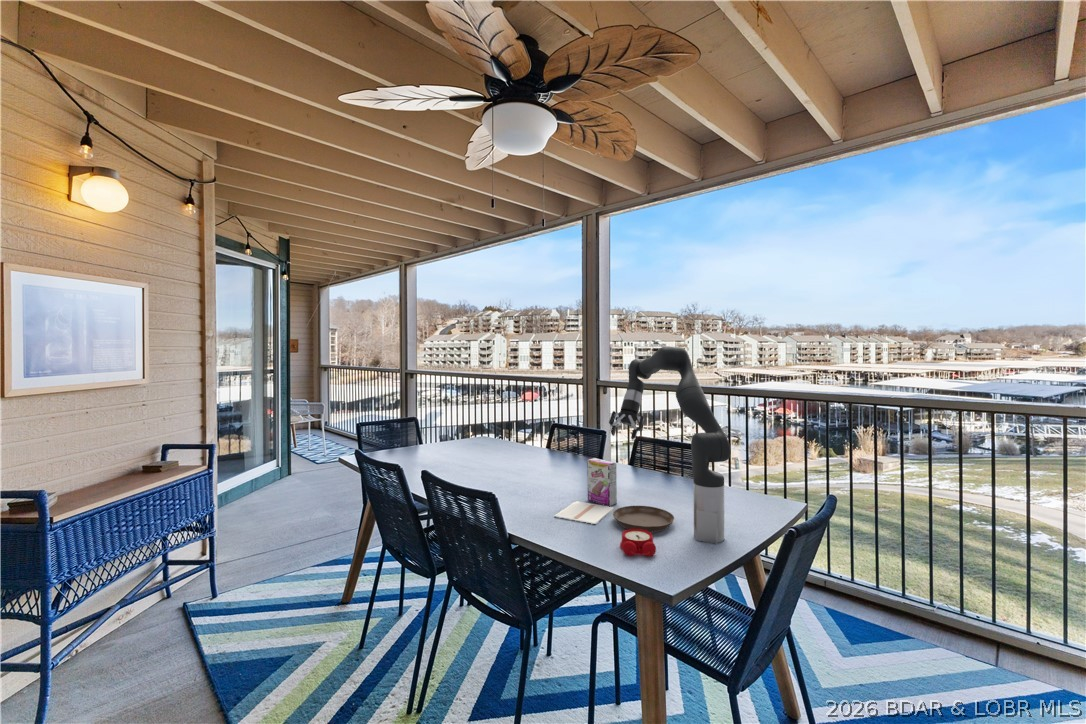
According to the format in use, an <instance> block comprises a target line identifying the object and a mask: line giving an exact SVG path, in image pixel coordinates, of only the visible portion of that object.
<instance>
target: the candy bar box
mask: <svg viewBox="0 0 1086 724" xmlns="http://www.w3.org/2000/svg"><path fill="white" fill-rule="evenodd" d="M586 464H587V466H586V467H587V469H586V470H587V471H586V473H587V501H589V500H590V502H593V501H594V502H593V503H596V502H597V504H599V503H600V504H599V505H603V504H604V505H603V506H606V505H607V506H610V507H612V506H615V505H617V503H618V500H617V499H618V497H617V494H618V492H617V462H615V461H611V460H605V459H600V458H598V457H597V458H596V457H593V458H589V459H587V461H586ZM614 504H615V505H614ZM611 505H612V506H611Z"/></svg>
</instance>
